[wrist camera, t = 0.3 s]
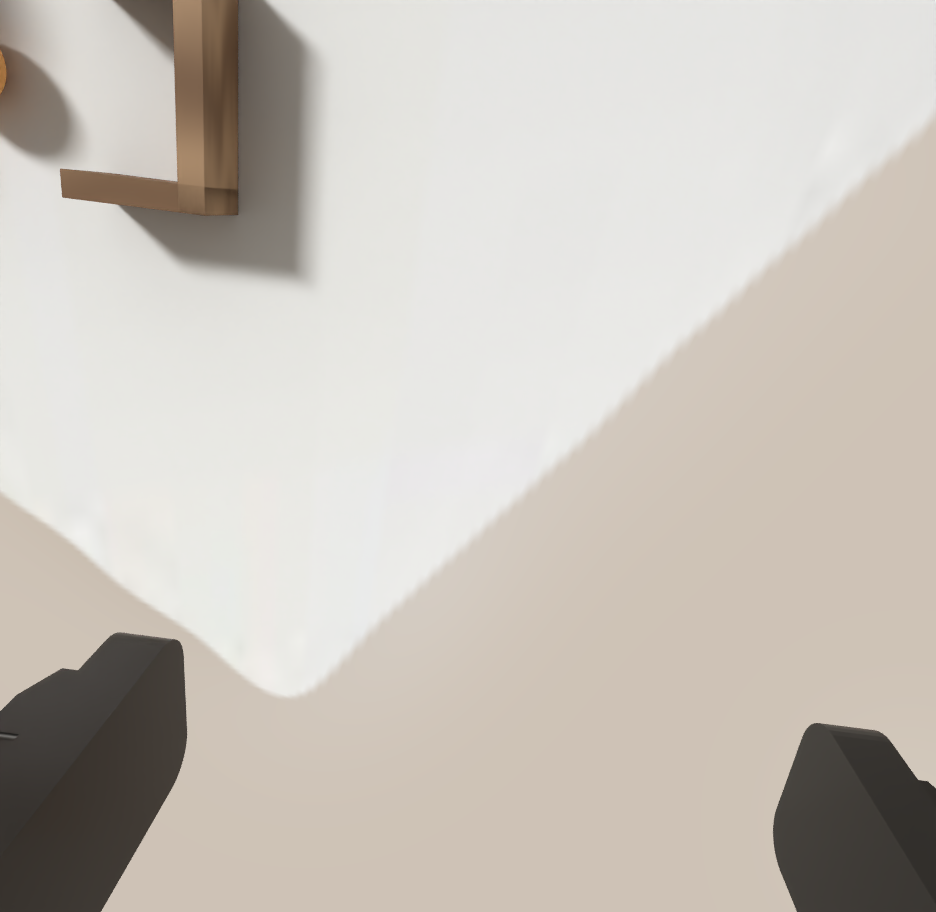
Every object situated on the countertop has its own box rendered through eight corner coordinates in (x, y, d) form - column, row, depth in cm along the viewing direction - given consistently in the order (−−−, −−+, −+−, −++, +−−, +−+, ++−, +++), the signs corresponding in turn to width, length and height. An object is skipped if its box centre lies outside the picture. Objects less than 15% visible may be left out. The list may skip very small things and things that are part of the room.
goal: (96, -46, 31) (39, -81, 27) (238, -28, 31) (200, -61, 27) (110, 198, 34) (62, 197, 31) (237, 214, 34) (204, 215, 30)
